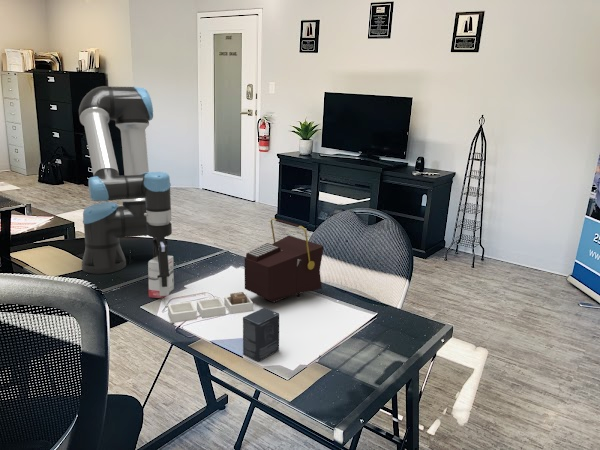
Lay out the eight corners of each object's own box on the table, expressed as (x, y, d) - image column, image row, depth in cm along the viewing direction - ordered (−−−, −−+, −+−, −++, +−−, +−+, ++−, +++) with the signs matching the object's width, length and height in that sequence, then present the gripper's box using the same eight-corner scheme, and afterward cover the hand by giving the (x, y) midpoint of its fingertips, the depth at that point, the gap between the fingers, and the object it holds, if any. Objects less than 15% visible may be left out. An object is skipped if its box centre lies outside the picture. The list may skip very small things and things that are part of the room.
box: (263, 343, 132) (264, 306, 130) (279, 351, 129) (280, 313, 126) (242, 354, 126) (242, 316, 124) (258, 362, 123) (258, 323, 120)
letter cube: (230, 305, 153) (230, 293, 152) (242, 303, 155) (242, 291, 154) (234, 311, 149) (234, 298, 148) (246, 309, 151) (246, 296, 150)
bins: (168, 313, 147) (167, 304, 147) (246, 302, 157) (246, 294, 156) (172, 324, 141) (171, 314, 140) (253, 312, 151) (253, 302, 150)
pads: (162, 298, 158) (162, 297, 158) (235, 288, 167) (235, 288, 167) (165, 307, 152) (165, 306, 152) (241, 296, 161) (241, 295, 161)
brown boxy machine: (324, 294, 165) (328, 221, 158) (274, 315, 148) (276, 235, 142) (289, 281, 176) (291, 212, 169) (238, 299, 159) (238, 223, 153)
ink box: (163, 299, 157) (161, 262, 154) (148, 297, 158) (146, 261, 155) (175, 289, 165) (173, 255, 162) (161, 288, 166) (159, 253, 163)
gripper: (142, 214, 163) (145, 278, 169) (151, 233, 144) (154, 304, 150) (165, 213, 166) (168, 276, 172) (177, 231, 147) (179, 301, 153)
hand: (161, 289), depth 161 cm, fingers closed on ink box, 9 cm apart
